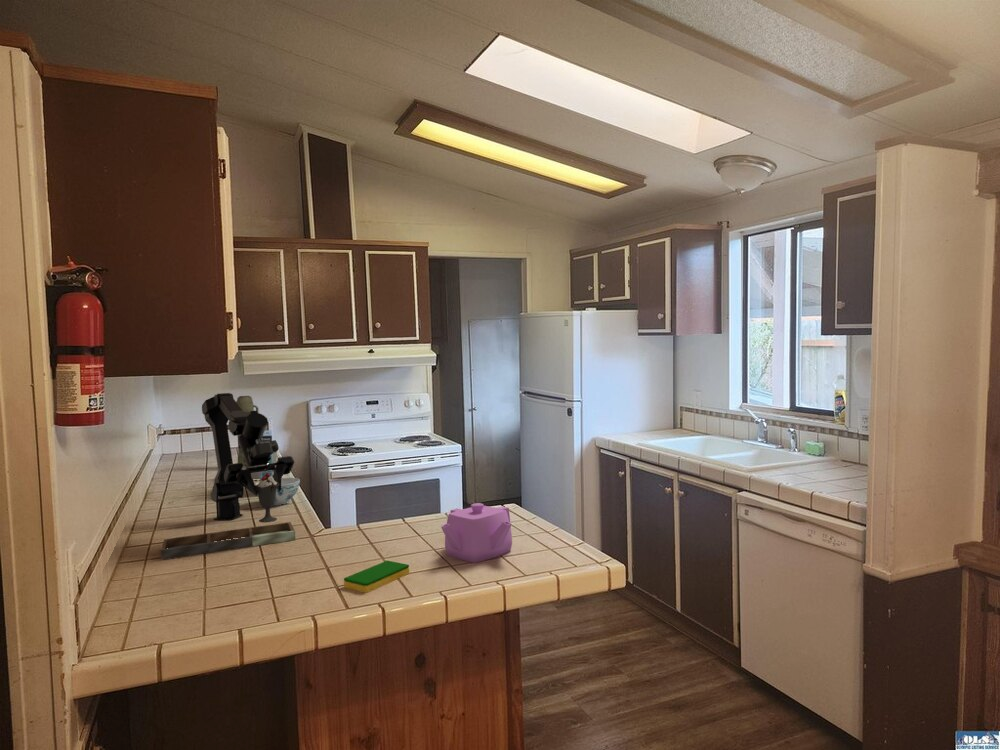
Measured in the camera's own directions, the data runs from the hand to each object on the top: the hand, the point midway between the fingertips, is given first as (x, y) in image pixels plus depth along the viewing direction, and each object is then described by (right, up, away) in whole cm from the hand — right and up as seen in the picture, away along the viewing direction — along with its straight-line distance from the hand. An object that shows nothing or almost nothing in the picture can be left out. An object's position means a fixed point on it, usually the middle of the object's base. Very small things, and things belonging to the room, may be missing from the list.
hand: (268, 492), depth 178 cm
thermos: (-56, -12, +126) cm, 139 cm away
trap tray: (-10, -14, -3) cm, 17 cm away
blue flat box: (-26, -13, +70) cm, 76 cm away
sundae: (-1, -8, +1) cm, 8 cm away
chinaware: (-13, -13, +47) cm, 50 cm away
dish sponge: (+38, -14, -36) cm, 54 cm away
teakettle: (+60, -12, -19) cm, 64 cm away
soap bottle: (-38, -12, +98) cm, 106 cm away
